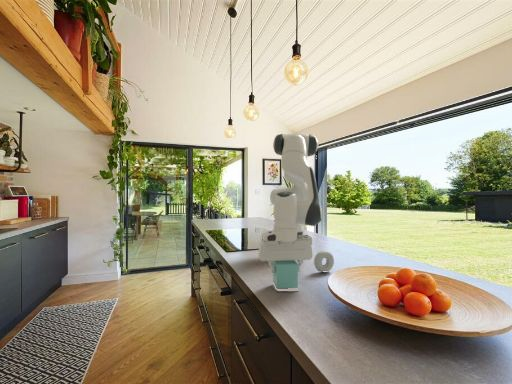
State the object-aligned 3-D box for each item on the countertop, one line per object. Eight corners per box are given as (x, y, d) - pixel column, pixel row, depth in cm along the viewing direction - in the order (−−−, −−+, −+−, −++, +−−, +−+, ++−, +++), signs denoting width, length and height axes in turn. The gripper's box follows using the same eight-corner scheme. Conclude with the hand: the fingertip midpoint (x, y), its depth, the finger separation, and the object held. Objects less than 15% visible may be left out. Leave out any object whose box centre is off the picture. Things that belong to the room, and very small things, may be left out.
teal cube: (272, 280, 101) (273, 258, 101) (292, 279, 102) (292, 257, 101) (276, 288, 93) (277, 264, 93) (297, 288, 94) (298, 264, 94)
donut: (330, 270, 120) (330, 248, 120) (335, 272, 117) (335, 250, 117) (312, 272, 116) (312, 250, 116) (316, 274, 113) (316, 252, 113)
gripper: (309, 233, 101) (309, 268, 101) (257, 234, 99) (257, 270, 99) (315, 235, 95) (315, 273, 95) (260, 236, 93) (259, 275, 92)
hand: (285, 272), depth 97 cm, fingers closed on teal cube, 8 cm apart
